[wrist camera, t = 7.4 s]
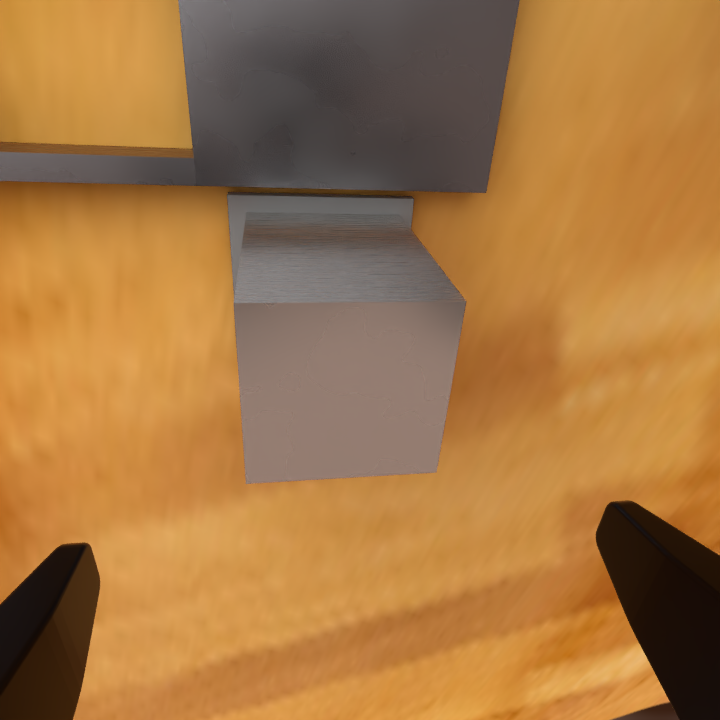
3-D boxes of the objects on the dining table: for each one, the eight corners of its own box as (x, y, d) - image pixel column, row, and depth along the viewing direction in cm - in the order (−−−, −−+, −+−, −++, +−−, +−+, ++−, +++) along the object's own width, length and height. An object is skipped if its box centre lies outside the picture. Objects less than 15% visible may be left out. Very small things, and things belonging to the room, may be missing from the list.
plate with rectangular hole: (520, -135, 14) (546, -154, 12) (470, 182, 18) (485, 192, 16) (-296, -239, 11) (-370, -276, 10) (-135, 165, 15) (-173, 176, 14)
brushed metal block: (399, 214, 18) (466, 301, 12) (387, 346, 20) (436, 472, 14) (246, 211, 17) (233, 303, 11) (253, 348, 19) (245, 483, 13)
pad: (411, 195, 18) (414, 199, 17) (395, 351, 21) (397, 356, 20) (228, 191, 17) (226, 194, 16) (239, 354, 20) (238, 360, 19)
